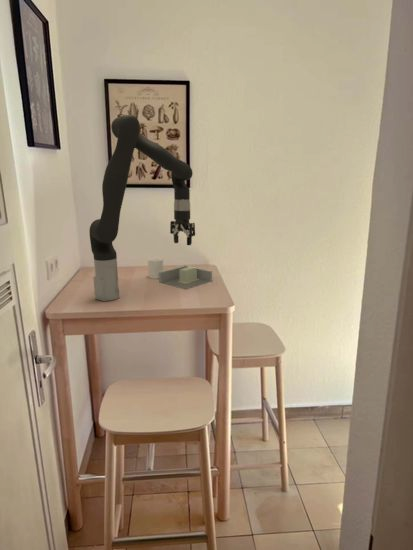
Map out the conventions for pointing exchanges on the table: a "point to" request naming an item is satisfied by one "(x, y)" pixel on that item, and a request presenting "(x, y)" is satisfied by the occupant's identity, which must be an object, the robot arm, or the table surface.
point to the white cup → (155, 267)
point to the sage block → (188, 274)
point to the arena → (173, 279)
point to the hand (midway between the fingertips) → (182, 244)
